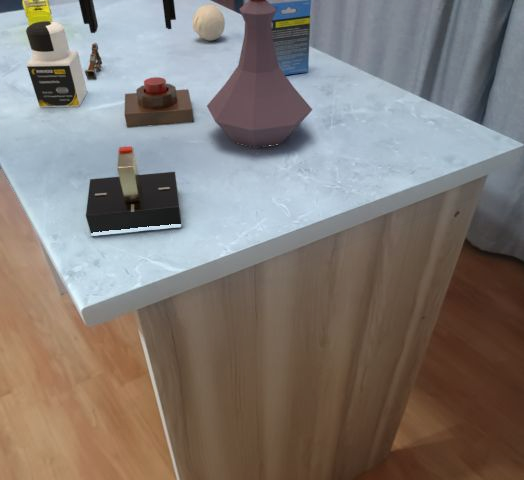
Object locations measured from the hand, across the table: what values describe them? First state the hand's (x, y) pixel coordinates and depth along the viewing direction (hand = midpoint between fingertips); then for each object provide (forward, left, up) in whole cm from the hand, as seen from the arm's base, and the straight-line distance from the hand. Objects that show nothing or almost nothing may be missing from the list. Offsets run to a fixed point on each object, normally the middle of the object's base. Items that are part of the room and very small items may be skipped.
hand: (131, 28), depth 68 cm
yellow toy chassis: (-24, +67, -16) cm, 73 cm away
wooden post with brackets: (-10, +36, -16) cm, 41 cm away
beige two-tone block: (-2, -18, -13) cm, 23 cm away
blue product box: (+27, +29, -16) cm, 43 cm away
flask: (+17, +2, -16) cm, 24 cm away
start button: (+2, +13, -13) cm, 18 cm away
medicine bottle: (-15, +23, -16) cm, 32 cm away
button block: (+2, +13, -16) cm, 21 cm away
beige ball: (+14, +54, -16) cm, 58 cm away
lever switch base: (-2, -18, -16) cm, 25 cm away
